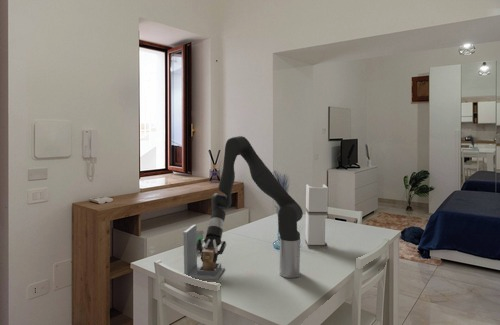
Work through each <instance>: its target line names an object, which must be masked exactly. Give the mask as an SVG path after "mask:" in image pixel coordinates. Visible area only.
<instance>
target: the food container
mask: <svg viewBox="0 0 500 325" xmlns="http://www.w3.org/2000/svg"><path fill="white" fill-rule="evenodd" d="M184 231H185V230H183V231H182V236H184ZM196 232H197V250H199V246H198V240H204V239H203V237H204V234H205V230H204V229H202V230H196Z"/></svg>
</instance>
